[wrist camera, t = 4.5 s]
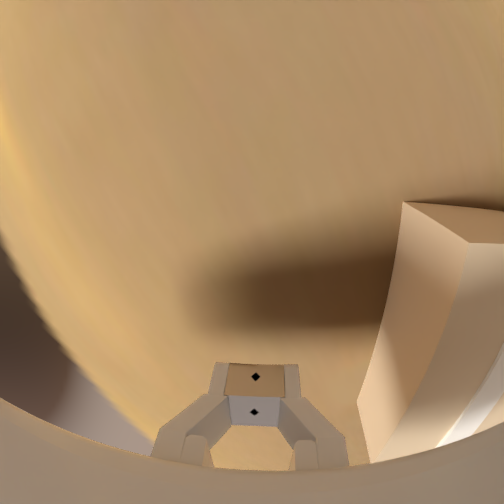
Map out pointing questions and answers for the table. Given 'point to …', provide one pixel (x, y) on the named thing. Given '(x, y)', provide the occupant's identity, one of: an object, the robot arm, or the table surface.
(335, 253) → the table surface
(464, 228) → the carton
